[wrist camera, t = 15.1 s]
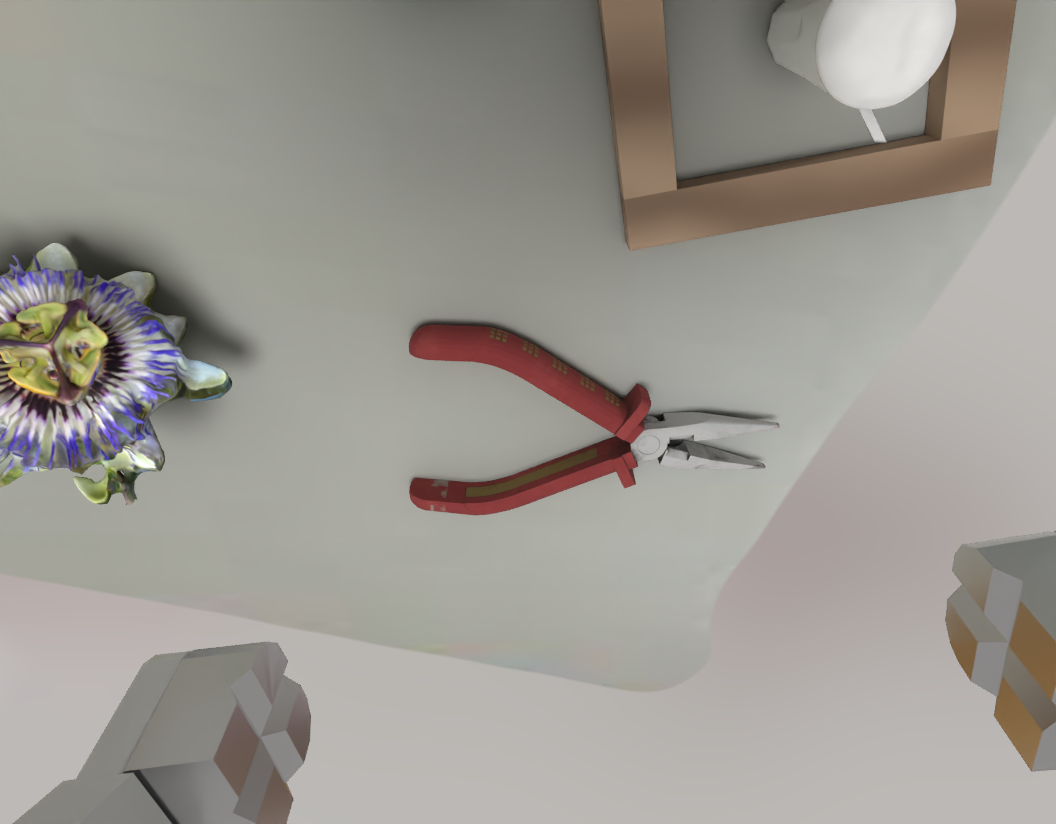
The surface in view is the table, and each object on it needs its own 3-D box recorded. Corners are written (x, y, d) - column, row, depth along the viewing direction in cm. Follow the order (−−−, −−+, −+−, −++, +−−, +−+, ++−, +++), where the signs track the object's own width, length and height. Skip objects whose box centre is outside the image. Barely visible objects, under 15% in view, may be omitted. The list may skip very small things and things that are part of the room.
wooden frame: (583, -120, 28) (586, -126, 27) (1023, -220, 27) (1049, -232, 26) (625, 241, 36) (629, 250, 34) (972, 178, 34) (990, 185, 33)
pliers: (741, 513, 45) (753, 541, 43) (411, 492, 44) (405, 519, 42) (792, 342, 39) (809, 364, 37) (412, 313, 38) (405, 333, 36)
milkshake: (736, 101, 32) (814, 136, 24) (765, -36, 30) (865, -53, 21) (832, 110, 33) (944, 148, 24) (870, -25, 30) (1011, -38, 21)
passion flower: (188, 250, 42) (267, 346, 33) (136, 426, 45) (195, 555, 37) (-93, 179, 33) (-84, 286, 24) (-131, 406, 36) (-136, 570, 28)
